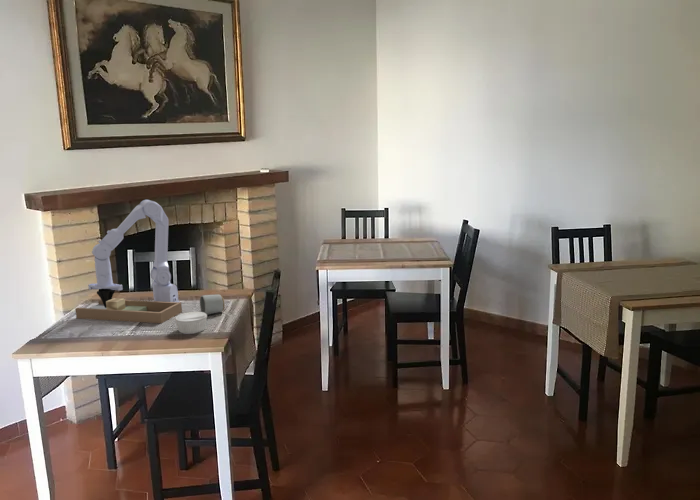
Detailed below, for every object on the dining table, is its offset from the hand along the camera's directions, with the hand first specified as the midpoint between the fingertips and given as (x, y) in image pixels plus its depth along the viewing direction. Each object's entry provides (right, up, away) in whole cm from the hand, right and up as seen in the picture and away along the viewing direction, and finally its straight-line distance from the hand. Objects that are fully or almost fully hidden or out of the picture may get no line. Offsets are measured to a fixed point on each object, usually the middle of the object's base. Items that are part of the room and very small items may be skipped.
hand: (107, 307), depth 233 cm
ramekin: (+40, -6, -23) cm, 46 cm away
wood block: (+4, -1, -1) cm, 4 cm away
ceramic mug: (+42, -2, -2) cm, 42 cm away
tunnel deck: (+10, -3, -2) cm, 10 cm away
